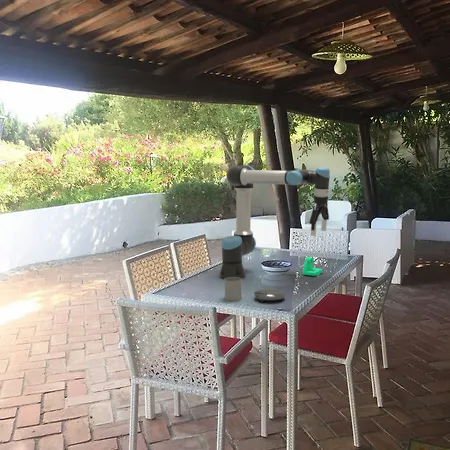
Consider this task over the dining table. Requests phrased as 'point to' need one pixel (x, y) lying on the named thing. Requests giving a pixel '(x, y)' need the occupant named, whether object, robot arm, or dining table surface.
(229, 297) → the cup
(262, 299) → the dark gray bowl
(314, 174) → the robot arm
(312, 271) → the camera mount
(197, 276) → the dining table surface
